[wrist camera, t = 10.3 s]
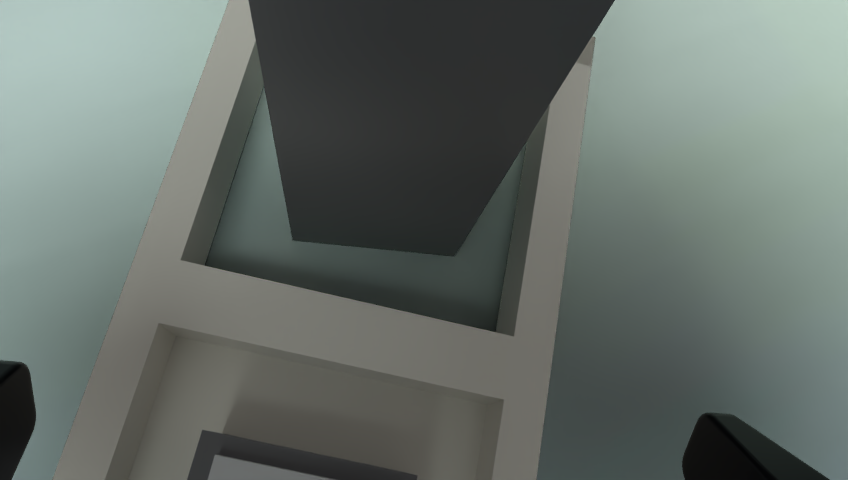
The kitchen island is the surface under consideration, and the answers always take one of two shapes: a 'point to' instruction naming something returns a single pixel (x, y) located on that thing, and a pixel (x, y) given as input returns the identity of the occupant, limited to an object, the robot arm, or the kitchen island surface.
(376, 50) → the iec plug
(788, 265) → the kitchen island surface
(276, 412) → the beige divided rectangular frame
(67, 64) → the kitchen island surface
